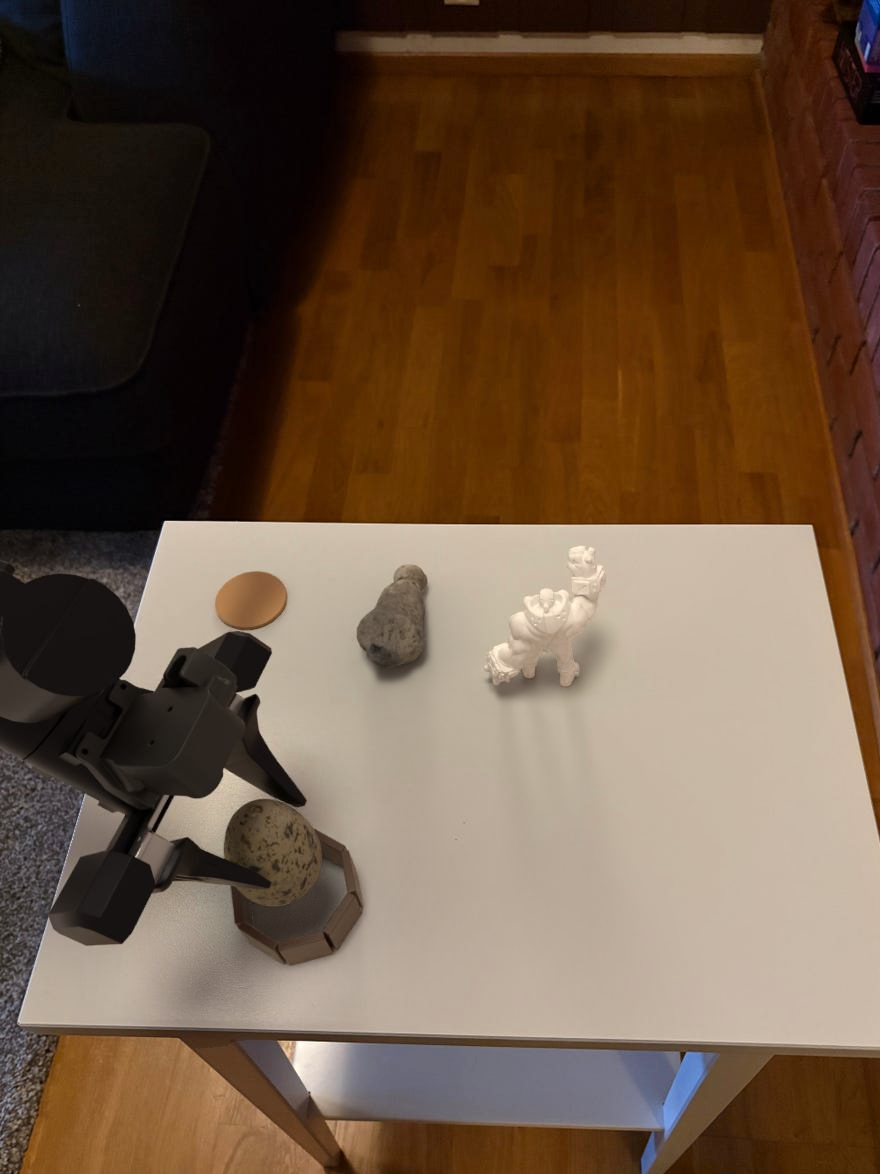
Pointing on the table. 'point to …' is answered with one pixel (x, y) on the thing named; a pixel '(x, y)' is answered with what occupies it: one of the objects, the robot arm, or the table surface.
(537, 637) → the figurine
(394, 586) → the stone
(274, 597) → the coaster
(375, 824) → the table surface
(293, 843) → the decorative egg
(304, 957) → the egg holder
